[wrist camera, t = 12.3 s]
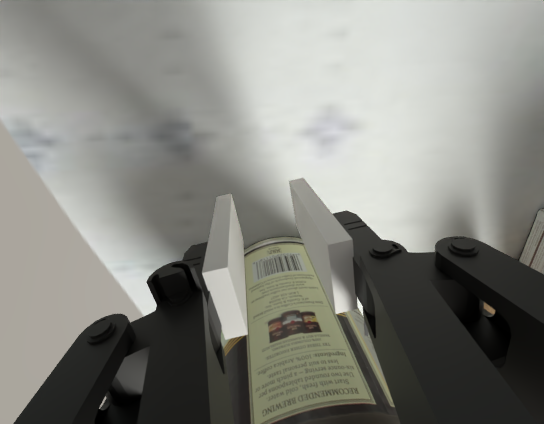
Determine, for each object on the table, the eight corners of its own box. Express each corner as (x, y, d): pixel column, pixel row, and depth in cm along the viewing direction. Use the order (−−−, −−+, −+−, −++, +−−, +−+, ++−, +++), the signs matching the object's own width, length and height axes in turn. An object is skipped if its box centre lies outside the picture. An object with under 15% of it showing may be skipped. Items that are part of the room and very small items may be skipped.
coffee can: (266, 347, 27) (295, 582, 14) (195, 281, 23) (143, 527, 10) (358, 292, 25) (482, 499, 13) (299, 211, 21) (394, 394, 8)
